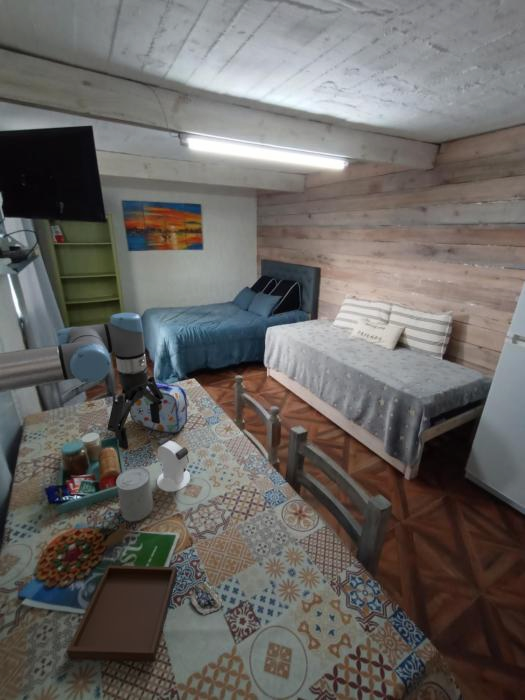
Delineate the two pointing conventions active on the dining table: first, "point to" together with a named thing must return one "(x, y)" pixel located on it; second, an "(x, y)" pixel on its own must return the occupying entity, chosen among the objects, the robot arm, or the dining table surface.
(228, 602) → the dining table surface
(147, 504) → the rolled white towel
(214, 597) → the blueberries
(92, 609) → the tray
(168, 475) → the white upright piece
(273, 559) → the dining table surface
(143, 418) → the lunch box
